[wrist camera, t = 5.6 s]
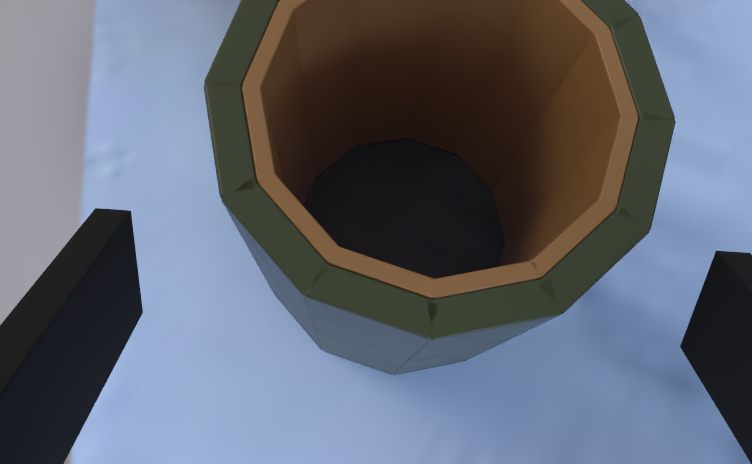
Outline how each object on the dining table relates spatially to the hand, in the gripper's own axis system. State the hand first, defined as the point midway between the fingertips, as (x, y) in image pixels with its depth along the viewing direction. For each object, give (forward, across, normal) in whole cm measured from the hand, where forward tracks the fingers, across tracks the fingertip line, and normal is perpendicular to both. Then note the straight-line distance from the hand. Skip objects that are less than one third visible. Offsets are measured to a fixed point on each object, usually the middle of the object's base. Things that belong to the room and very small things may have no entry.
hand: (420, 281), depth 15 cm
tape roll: (+9, 0, -4) cm, 10 cm away
